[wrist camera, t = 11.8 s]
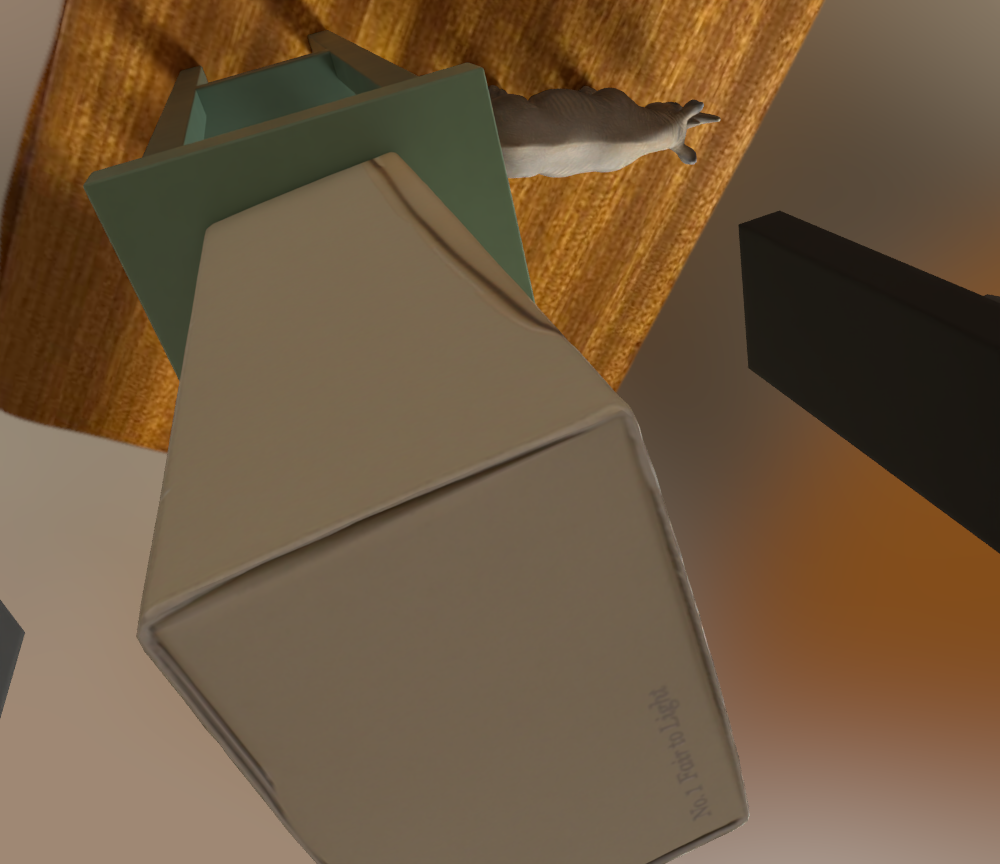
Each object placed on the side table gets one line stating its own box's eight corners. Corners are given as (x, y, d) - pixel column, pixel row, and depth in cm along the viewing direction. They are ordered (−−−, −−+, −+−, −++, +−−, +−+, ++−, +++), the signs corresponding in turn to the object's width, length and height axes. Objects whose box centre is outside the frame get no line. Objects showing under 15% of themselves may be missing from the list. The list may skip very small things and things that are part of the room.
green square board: (244, 488, 21) (245, 515, 20) (90, 172, 16) (81, 184, 15) (542, 384, 22) (558, 404, 21) (469, 61, 17) (484, 66, 16)
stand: (239, 218, 41) (257, 478, 20) (179, 71, 38) (124, 196, 16) (373, 177, 42) (527, 383, 21) (327, 29, 38) (458, 95, 17)
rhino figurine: (687, 155, 46) (744, 176, 41) (448, 169, 43) (478, 194, 38) (695, 75, 44) (756, 88, 39) (446, 83, 41) (477, 98, 36)
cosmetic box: (489, 390, 20) (771, 828, 10) (318, 467, 20) (424, 1004, 9) (390, 134, 17) (664, 391, 6) (181, 221, 16) (112, 643, 6)
